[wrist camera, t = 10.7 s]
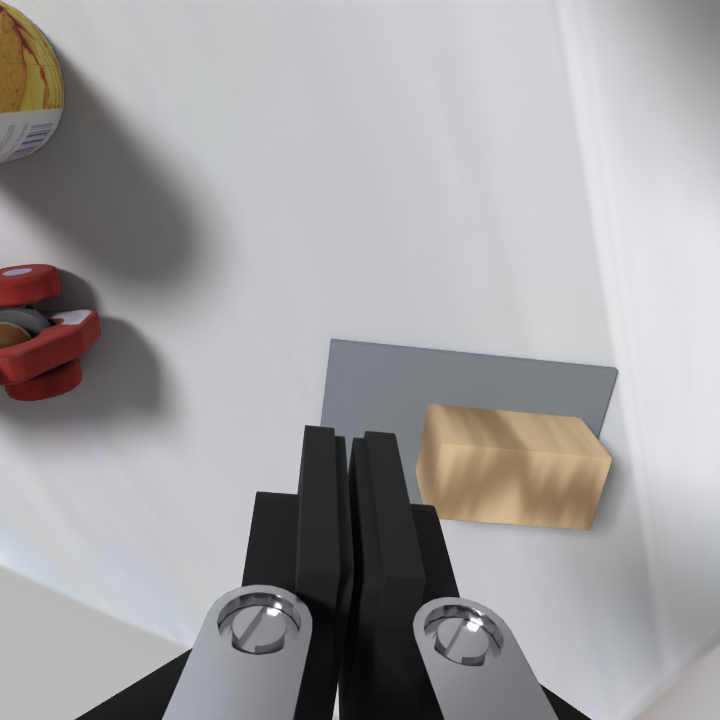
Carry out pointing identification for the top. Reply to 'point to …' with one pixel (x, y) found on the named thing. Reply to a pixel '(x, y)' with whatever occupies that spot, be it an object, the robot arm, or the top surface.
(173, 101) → the top surface
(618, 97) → the top surface
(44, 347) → the toy fire truck
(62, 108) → the canned food
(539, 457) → the oak block
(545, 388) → the mat
